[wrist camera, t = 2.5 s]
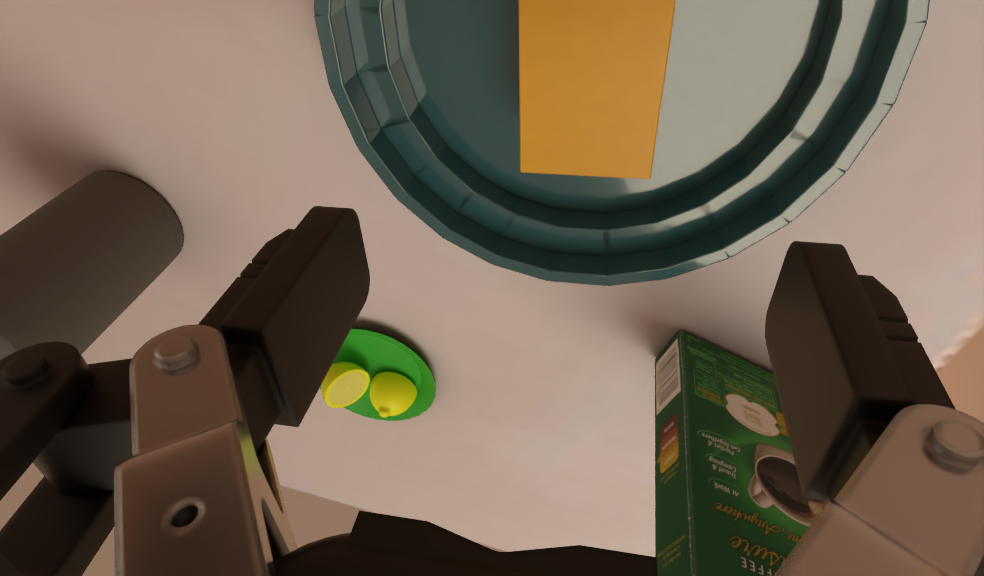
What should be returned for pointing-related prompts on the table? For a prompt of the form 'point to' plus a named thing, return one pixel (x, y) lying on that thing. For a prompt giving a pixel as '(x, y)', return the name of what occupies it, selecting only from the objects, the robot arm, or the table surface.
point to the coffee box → (722, 466)
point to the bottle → (83, 261)
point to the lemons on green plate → (378, 378)
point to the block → (591, 85)
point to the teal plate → (679, 142)
